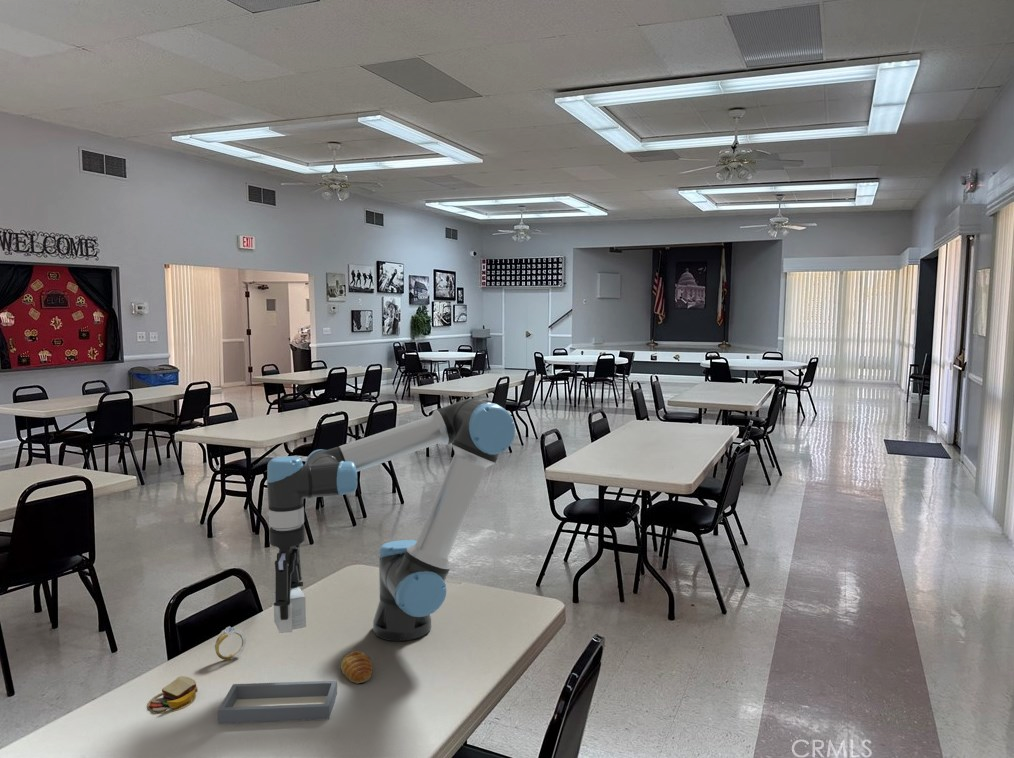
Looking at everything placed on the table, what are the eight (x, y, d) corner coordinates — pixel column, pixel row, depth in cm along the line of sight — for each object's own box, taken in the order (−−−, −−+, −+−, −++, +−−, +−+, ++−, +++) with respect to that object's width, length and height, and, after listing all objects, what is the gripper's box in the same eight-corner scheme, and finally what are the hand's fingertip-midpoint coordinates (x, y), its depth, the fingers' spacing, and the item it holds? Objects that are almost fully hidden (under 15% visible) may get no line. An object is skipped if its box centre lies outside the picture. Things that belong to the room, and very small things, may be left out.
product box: (273, 622, 160) (272, 591, 160) (300, 616, 163) (299, 586, 163) (278, 633, 155) (277, 601, 154) (306, 627, 158) (305, 596, 157)
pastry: (378, 682, 158) (378, 666, 157) (348, 688, 155) (348, 672, 154) (366, 662, 166) (367, 647, 166) (338, 668, 163) (338, 652, 162)
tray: (337, 695, 152) (337, 680, 152) (329, 722, 142) (329, 706, 142) (233, 699, 150) (233, 684, 150) (218, 726, 140) (217, 710, 140)
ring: (216, 666, 165) (215, 633, 164) (214, 660, 167) (213, 628, 167) (247, 658, 168) (246, 626, 168) (244, 653, 171) (243, 621, 170)
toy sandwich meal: (138, 707, 148) (137, 691, 148) (184, 686, 156) (183, 671, 156) (162, 722, 142) (161, 705, 142) (208, 700, 151) (207, 684, 150)
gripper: (280, 513, 167) (284, 604, 169) (257, 541, 146) (261, 645, 149) (312, 512, 167) (315, 603, 170) (293, 540, 147) (297, 644, 149)
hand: (290, 623), depth 159 cm, fingers closed on product box, 8 cm apart
